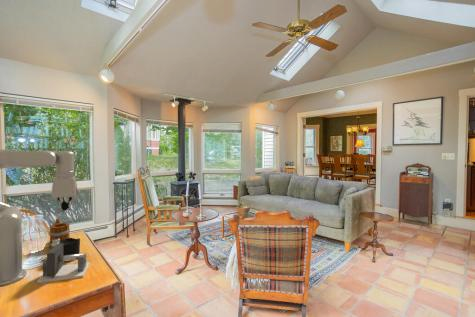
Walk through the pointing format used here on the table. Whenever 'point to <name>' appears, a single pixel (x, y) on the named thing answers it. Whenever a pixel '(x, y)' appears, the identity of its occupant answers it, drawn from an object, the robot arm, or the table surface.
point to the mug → (58, 231)
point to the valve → (55, 242)
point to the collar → (54, 260)
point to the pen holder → (70, 246)
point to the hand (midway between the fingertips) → (65, 209)
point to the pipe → (79, 257)
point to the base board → (65, 273)
